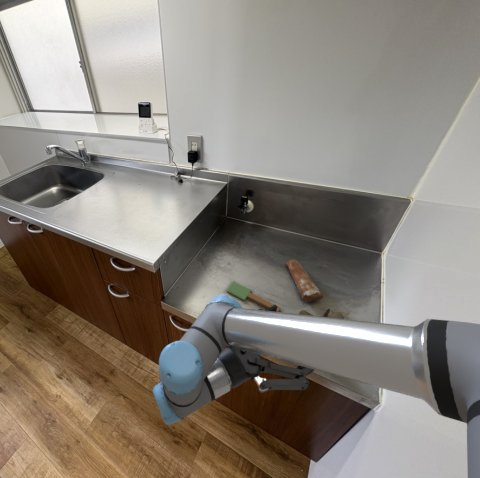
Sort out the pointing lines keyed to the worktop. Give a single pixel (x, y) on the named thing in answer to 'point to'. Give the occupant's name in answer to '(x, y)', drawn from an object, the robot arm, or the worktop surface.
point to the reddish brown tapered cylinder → (304, 282)
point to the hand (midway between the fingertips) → (296, 329)
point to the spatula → (248, 295)
